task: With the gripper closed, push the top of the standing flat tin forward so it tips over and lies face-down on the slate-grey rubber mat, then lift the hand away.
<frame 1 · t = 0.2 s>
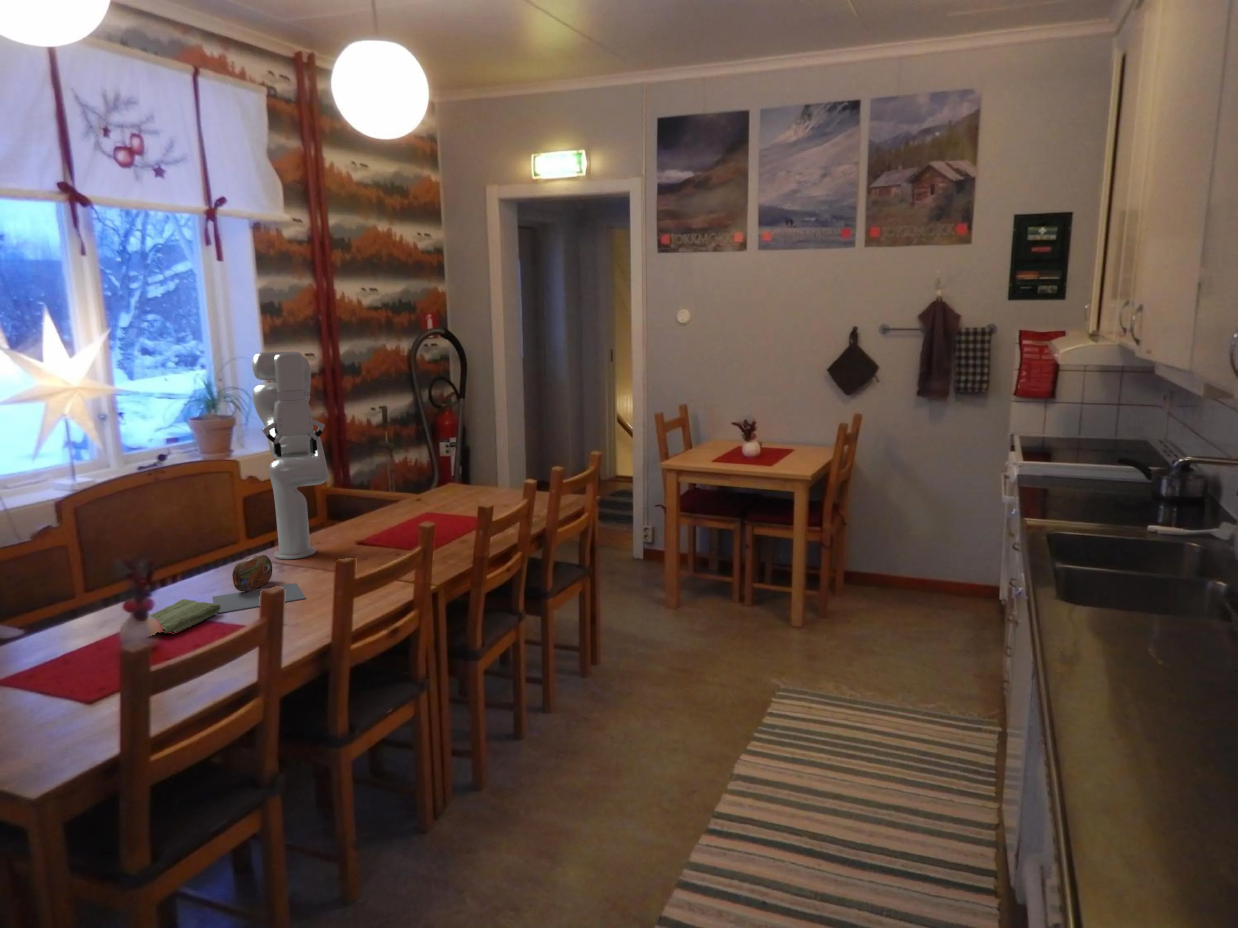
hand: (296, 454, 247), 36 cm above the table, tool pointing down, fingers open, 9 cm apart
mat: (258, 598, 232), on the table
tin: (253, 587, 241), on the table, touching mat
washcloth: (178, 623, 214), on the table, touching mat
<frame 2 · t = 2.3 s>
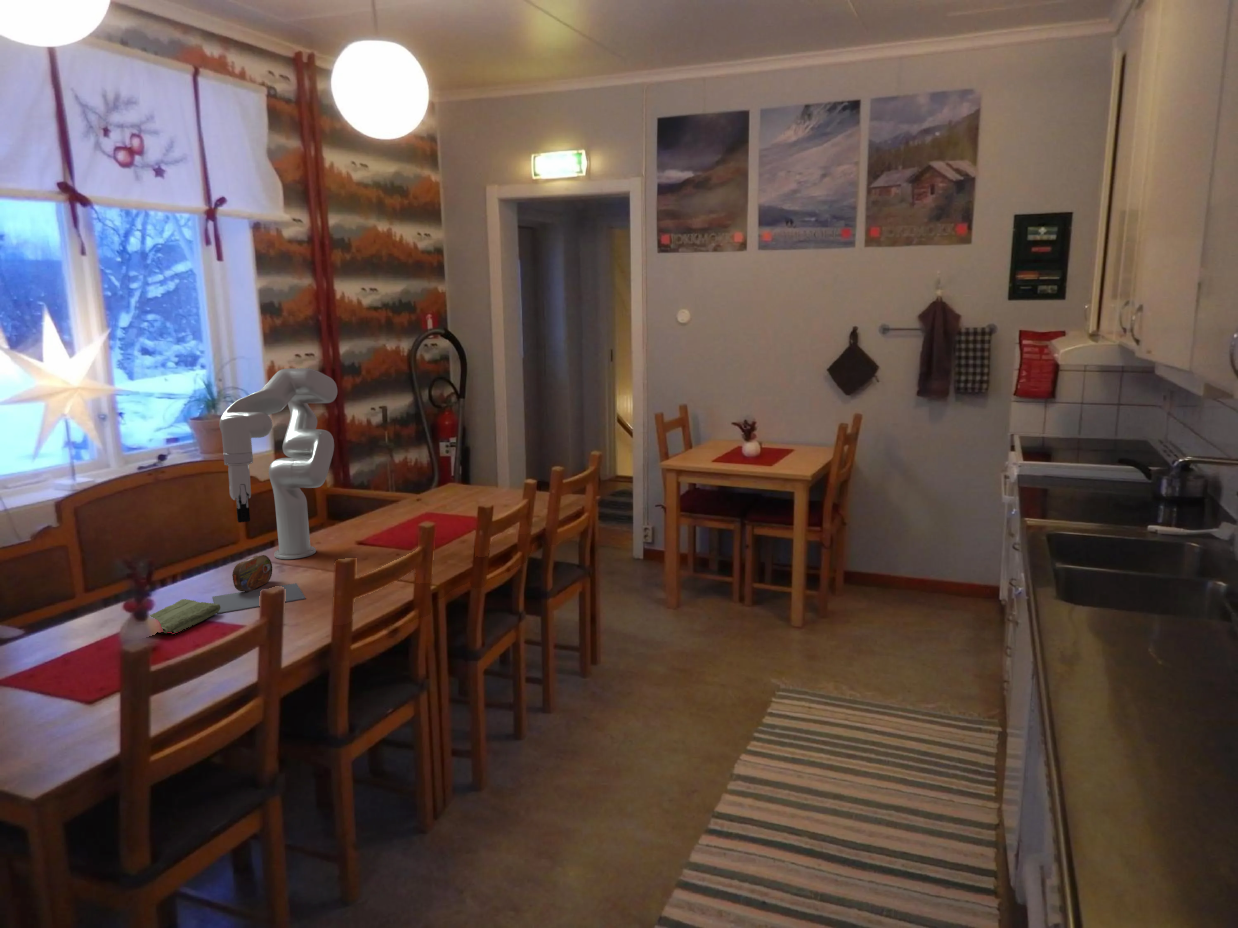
hand: (243, 521, 244), 18 cm above the table, tool pointing down, fingers closed
nothing on the table moved.
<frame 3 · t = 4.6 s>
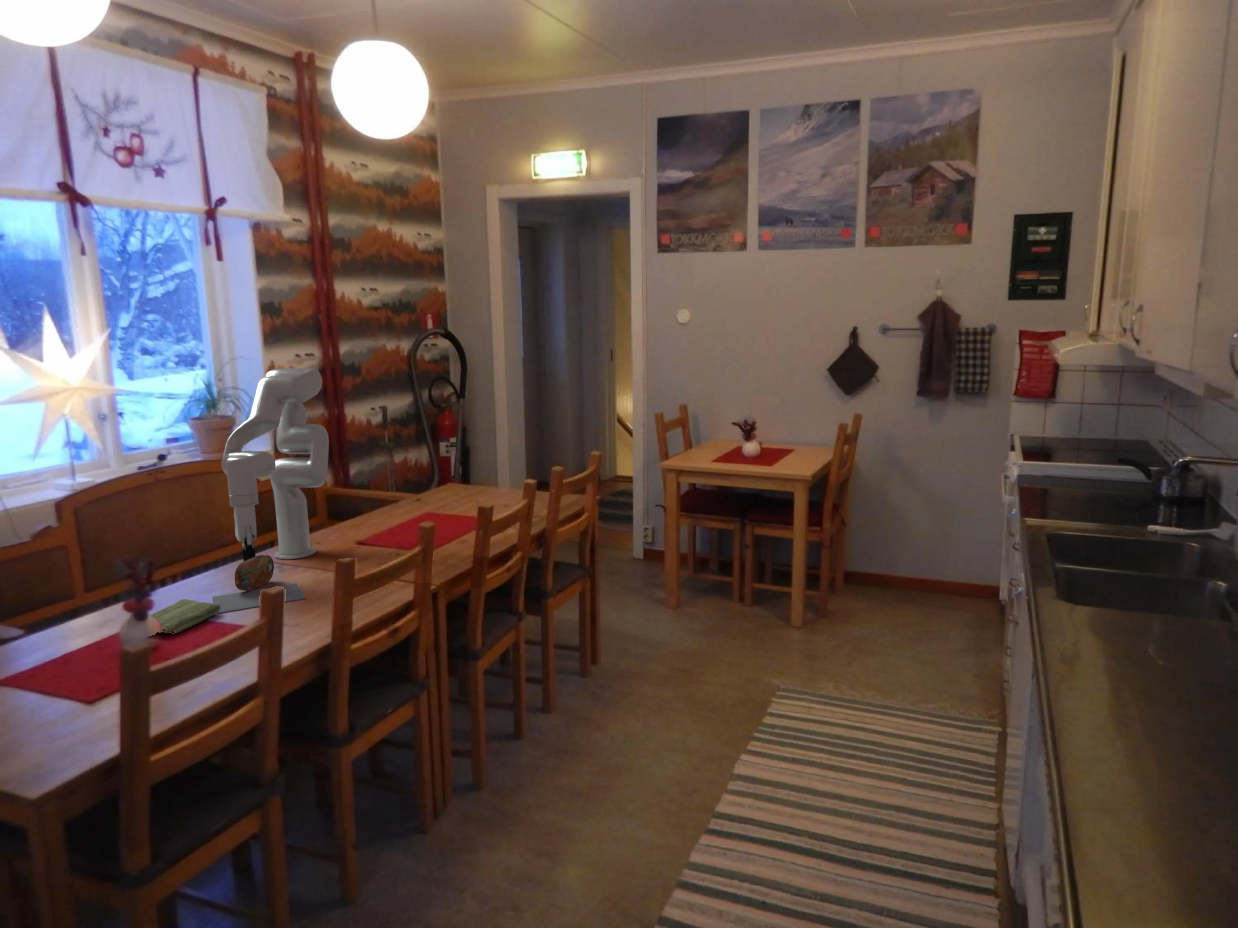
hand: (249, 561, 243), 7 cm above the table, tool pointing down, fingers closed
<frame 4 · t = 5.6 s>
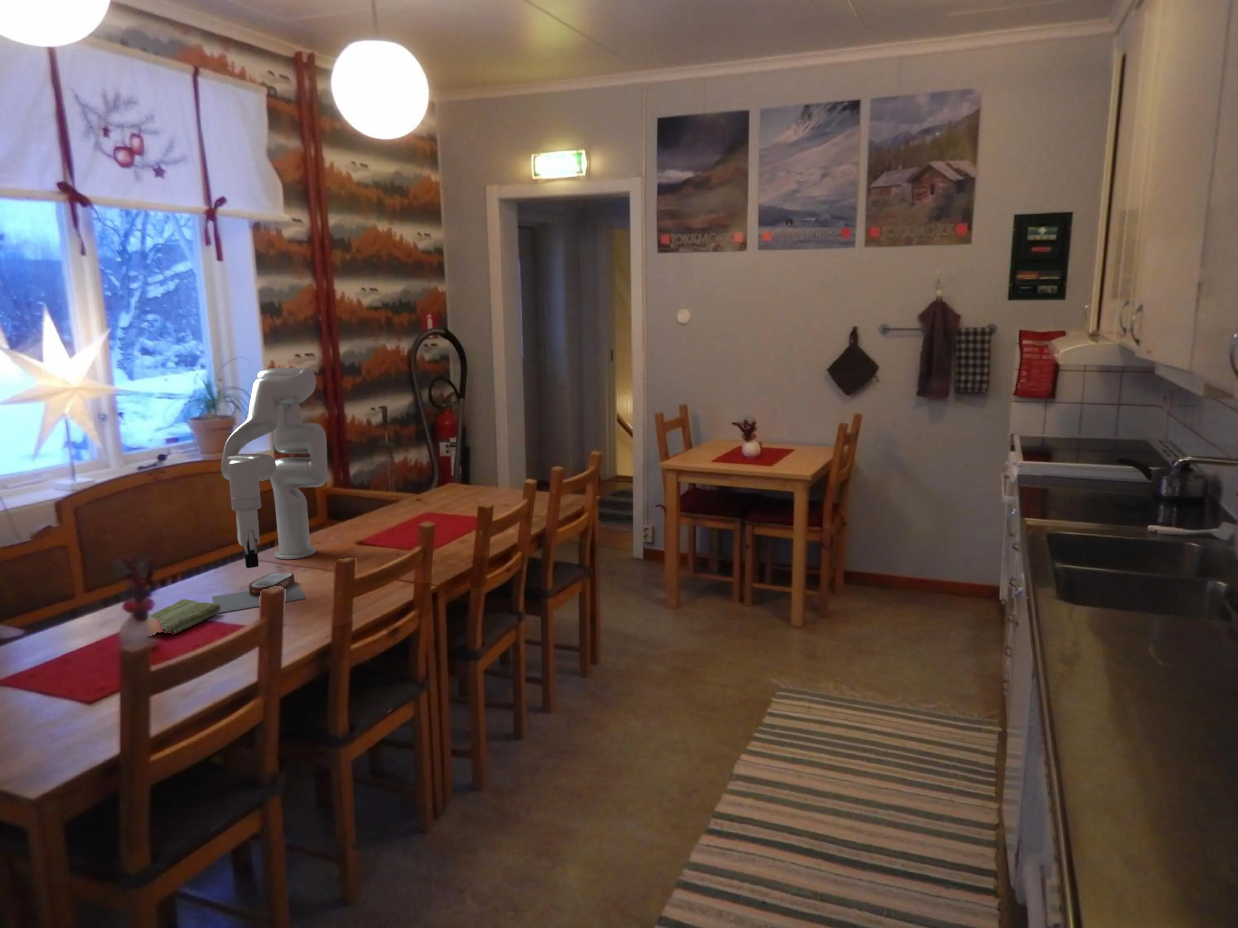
hand: (252, 566, 238), 7 cm above the table, tool pointing down, fingers closed
tin: (258, 581, 240), point 2 cm above the table, touching mat
everything else where it was.
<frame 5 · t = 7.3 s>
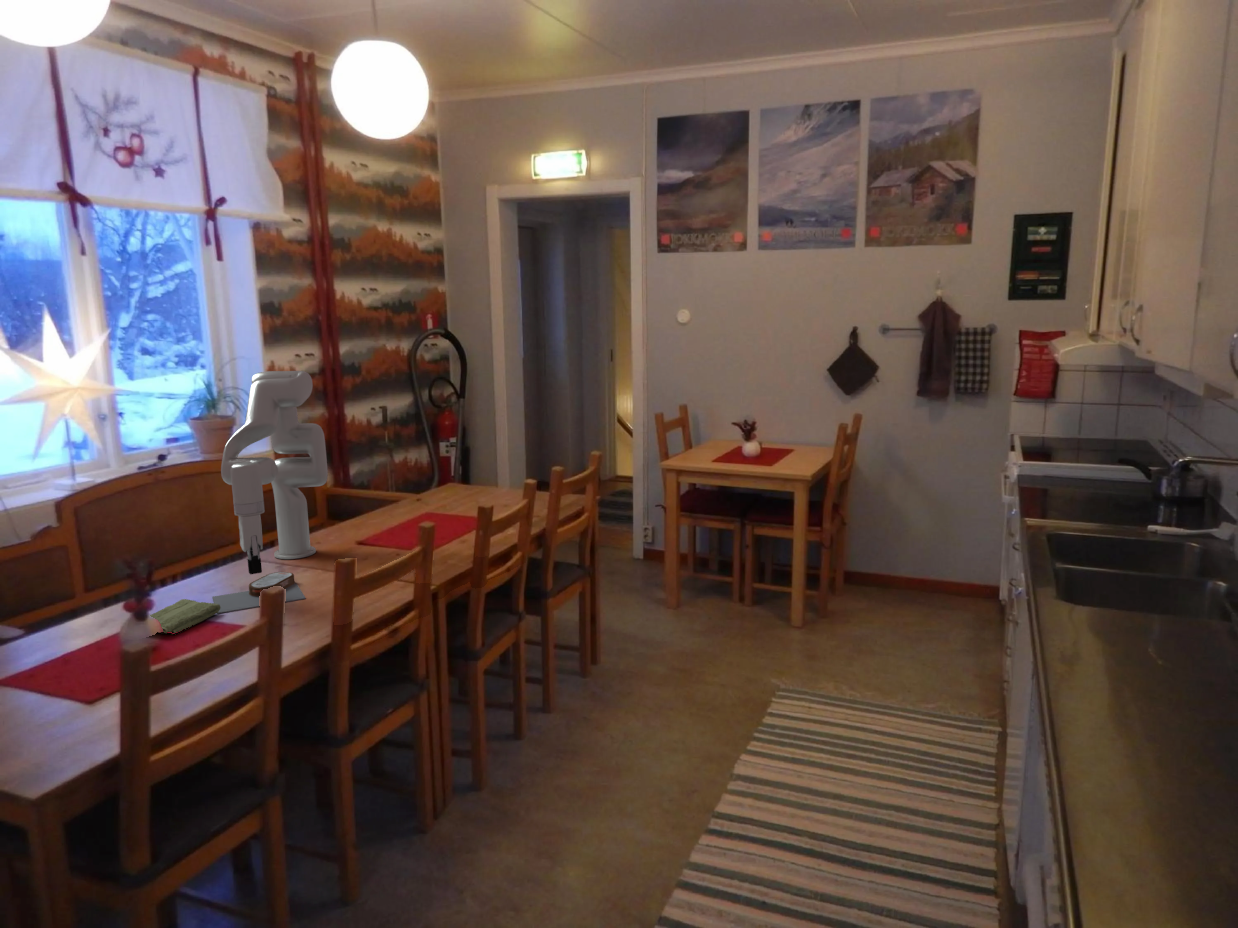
hand: (255, 572, 233), 7 cm above the table, tool pointing down, fingers closed
nothing on the table moved.
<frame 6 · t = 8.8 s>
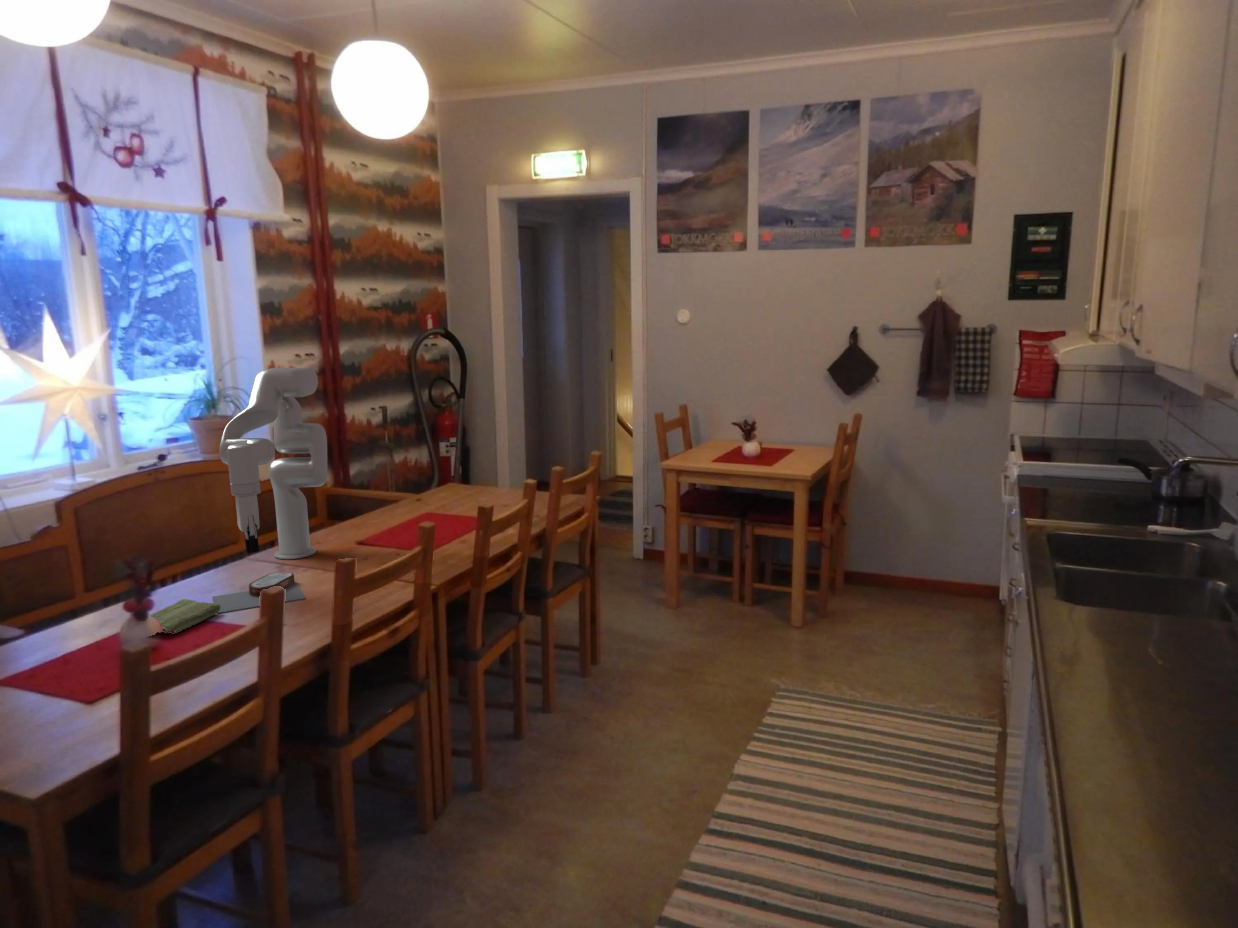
hand: (252, 551, 237), 11 cm above the table, tool pointing down, fingers closed
nothing on the table moved.
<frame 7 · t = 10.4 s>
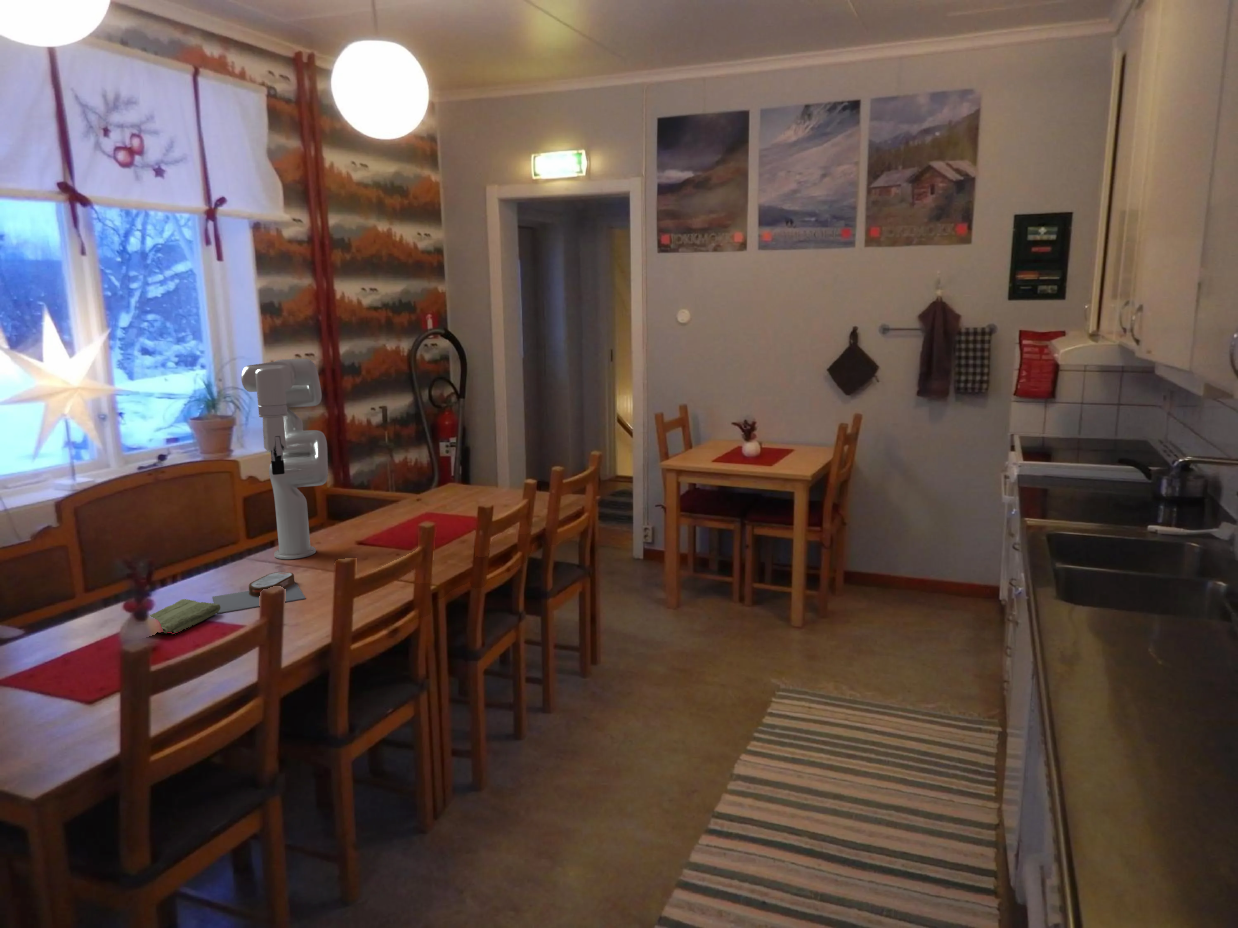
hand: (278, 473, 245), 31 cm above the table, tool pointing down, fingers closed
nothing on the table moved.
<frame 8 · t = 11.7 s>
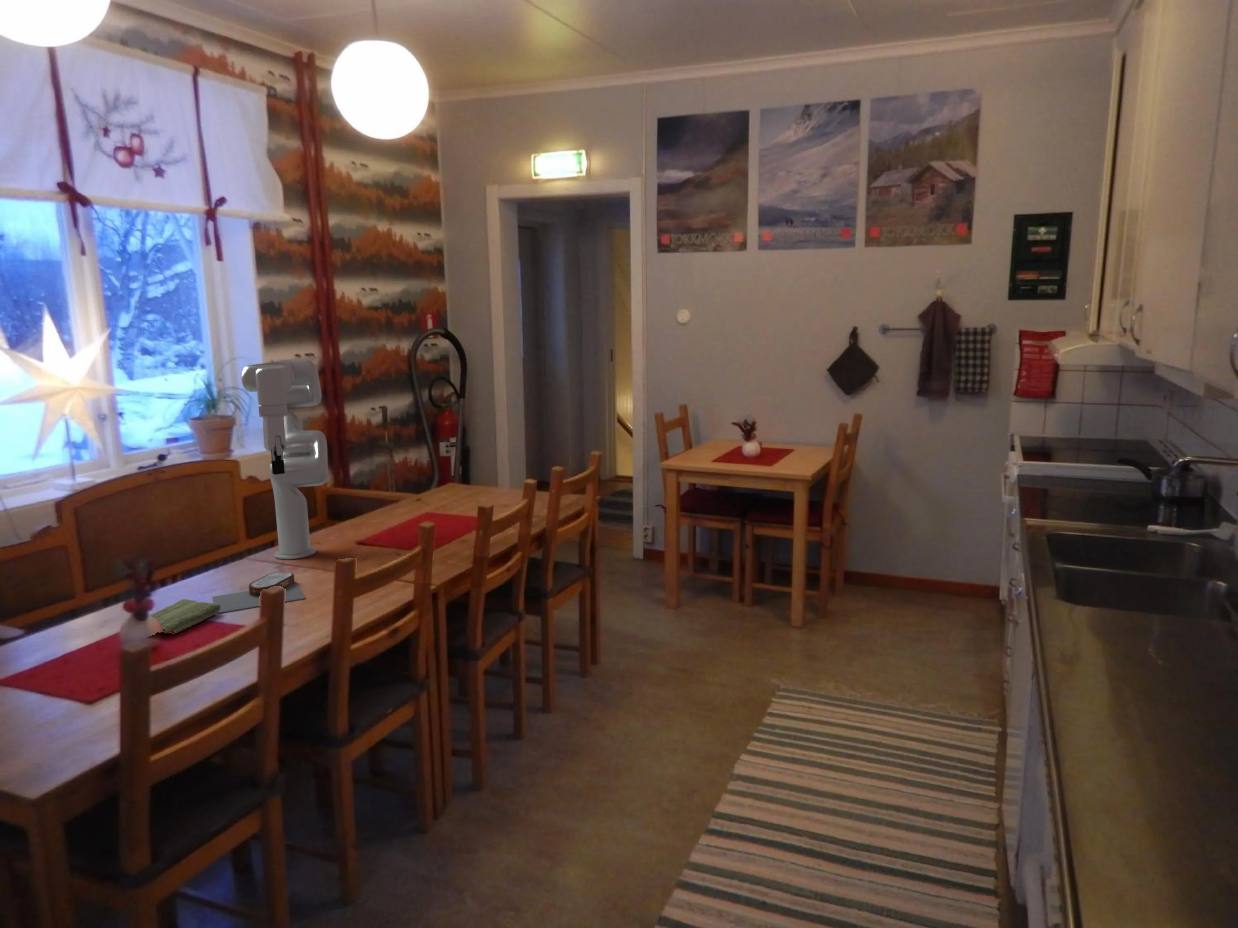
hand: (278, 473, 245), 31 cm above the table, tool pointing down, fingers closed
nothing on the table moved.
at the end: tin tilted 94°; tin touching mat; tin inside the target area (1.2 cm from its centre), point 1.9 cm above the table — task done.
